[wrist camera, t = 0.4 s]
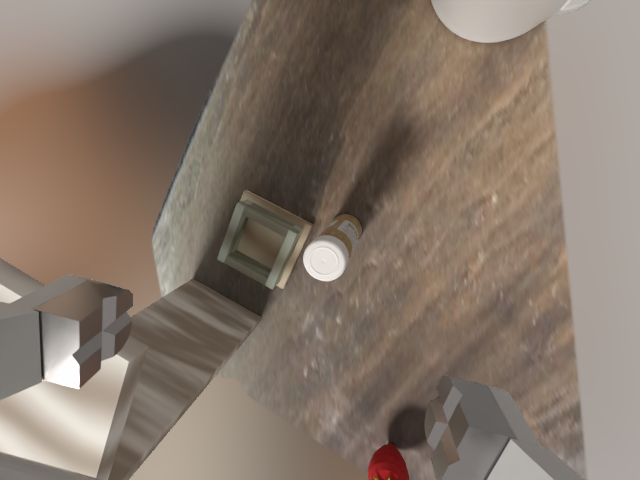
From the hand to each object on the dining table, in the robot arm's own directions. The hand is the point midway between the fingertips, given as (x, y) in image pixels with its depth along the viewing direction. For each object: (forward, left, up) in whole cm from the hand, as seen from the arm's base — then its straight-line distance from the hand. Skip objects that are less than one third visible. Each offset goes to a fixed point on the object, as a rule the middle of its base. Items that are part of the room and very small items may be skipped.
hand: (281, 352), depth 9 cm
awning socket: (+19, -13, -37) cm, 44 cm away
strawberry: (+37, +20, -38) cm, 56 cm away
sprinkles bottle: (+8, -2, -38) cm, 38 cm away
